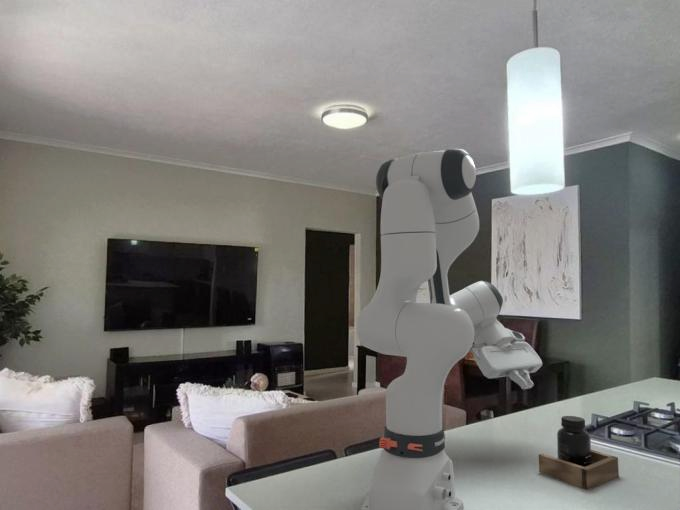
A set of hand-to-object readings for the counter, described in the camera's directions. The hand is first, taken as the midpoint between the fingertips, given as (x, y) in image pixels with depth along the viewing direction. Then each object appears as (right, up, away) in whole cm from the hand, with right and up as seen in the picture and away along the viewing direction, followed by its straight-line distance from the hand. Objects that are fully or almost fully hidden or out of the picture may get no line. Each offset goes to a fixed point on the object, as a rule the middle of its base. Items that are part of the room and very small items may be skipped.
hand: (528, 387), depth 119 cm
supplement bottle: (+7, -17, -9) cm, 20 cm away
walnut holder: (+7, -17, -11) cm, 21 cm away
